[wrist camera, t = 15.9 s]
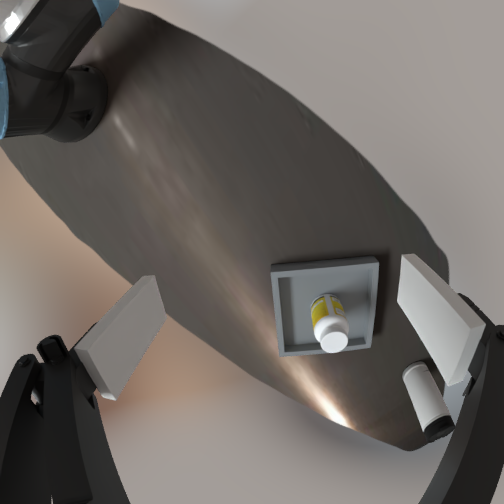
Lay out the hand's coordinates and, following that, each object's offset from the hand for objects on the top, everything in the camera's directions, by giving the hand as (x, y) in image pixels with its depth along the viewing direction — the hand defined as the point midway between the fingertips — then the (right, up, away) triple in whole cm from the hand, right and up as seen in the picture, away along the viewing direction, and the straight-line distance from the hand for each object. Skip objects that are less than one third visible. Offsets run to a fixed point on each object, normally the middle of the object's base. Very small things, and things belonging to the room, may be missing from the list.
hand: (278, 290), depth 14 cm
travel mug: (+36, -25, +36) cm, 57 cm away
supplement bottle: (+11, -7, +31) cm, 34 cm away
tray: (+11, -7, +32) cm, 35 cm away
